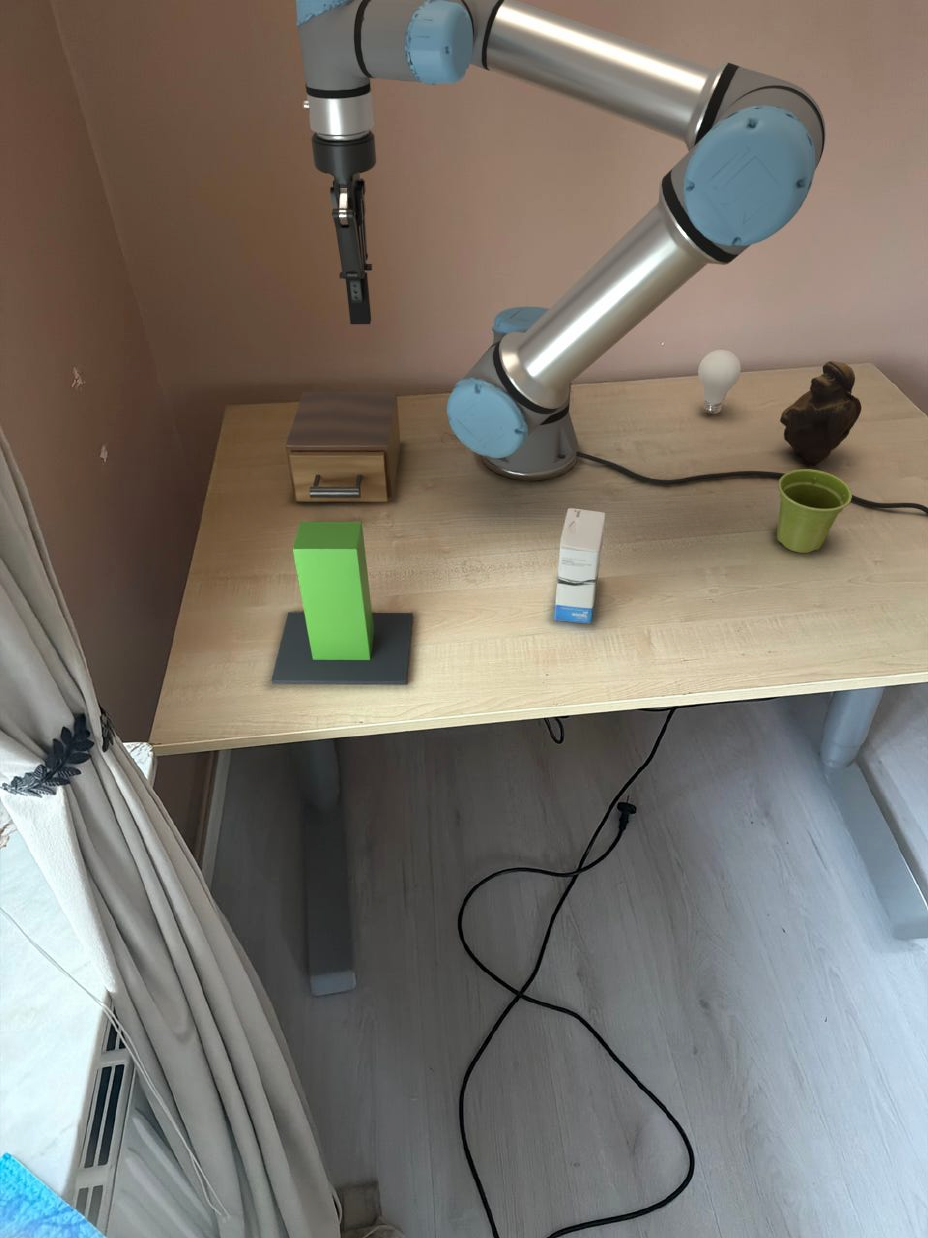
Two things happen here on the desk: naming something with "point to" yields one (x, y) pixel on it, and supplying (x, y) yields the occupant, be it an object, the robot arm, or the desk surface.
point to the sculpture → (822, 414)
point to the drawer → (339, 475)
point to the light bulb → (718, 378)
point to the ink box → (579, 565)
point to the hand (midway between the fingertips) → (360, 321)
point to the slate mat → (380, 669)
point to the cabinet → (348, 427)
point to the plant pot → (809, 508)
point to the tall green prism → (335, 589)
